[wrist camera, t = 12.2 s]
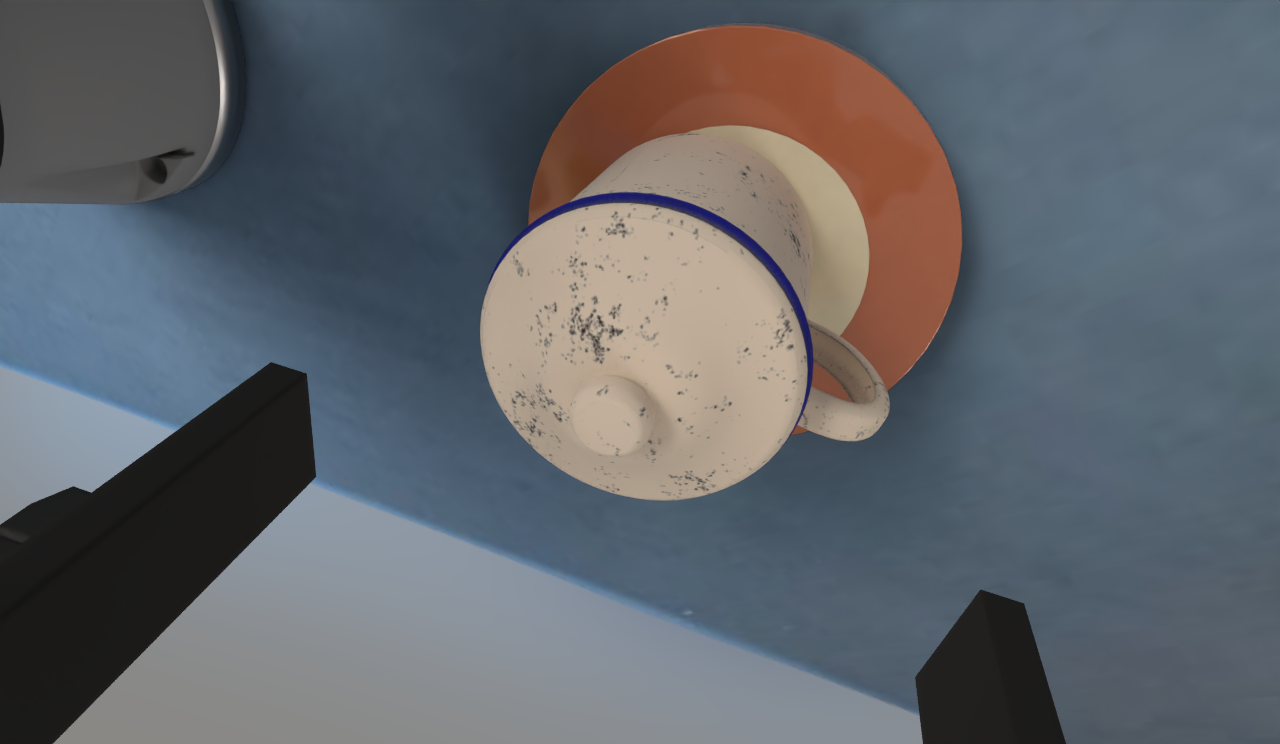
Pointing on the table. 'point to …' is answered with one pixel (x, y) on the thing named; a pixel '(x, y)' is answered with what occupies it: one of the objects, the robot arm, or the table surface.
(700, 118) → the saucer
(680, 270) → the teacup with lid
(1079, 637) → the table surface
